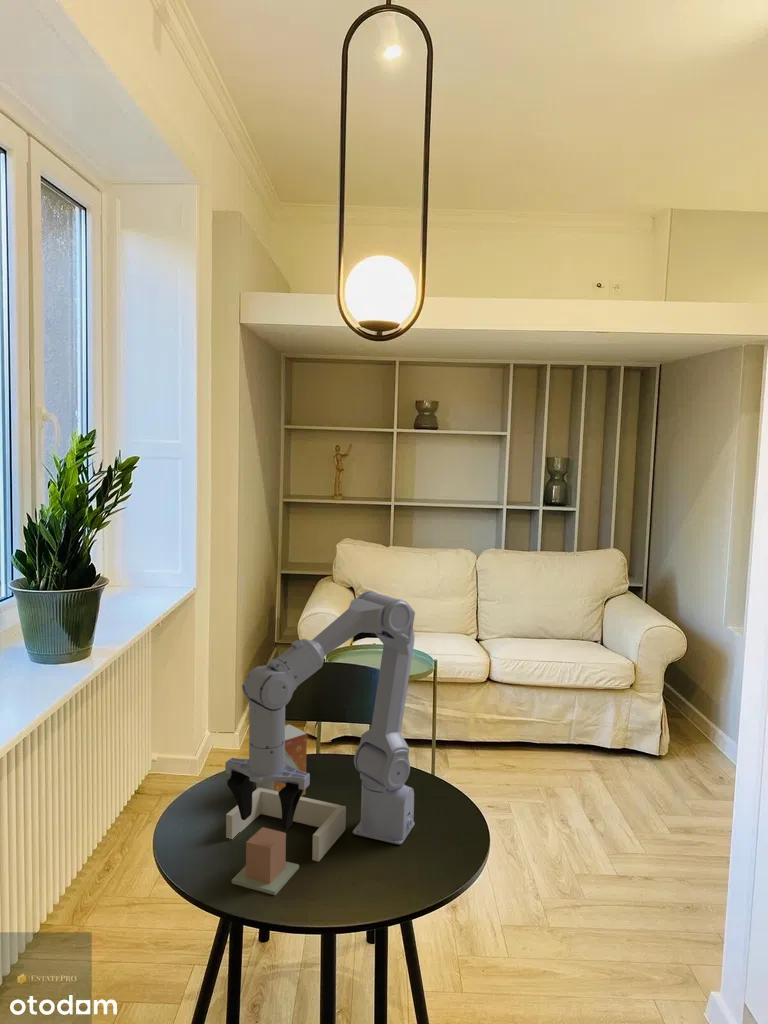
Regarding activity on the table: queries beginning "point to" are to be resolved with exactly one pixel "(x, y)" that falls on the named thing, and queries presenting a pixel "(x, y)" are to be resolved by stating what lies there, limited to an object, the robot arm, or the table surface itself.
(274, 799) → the u-shaped wall
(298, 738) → the small box
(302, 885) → the table surface
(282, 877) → the mat
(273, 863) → the block
